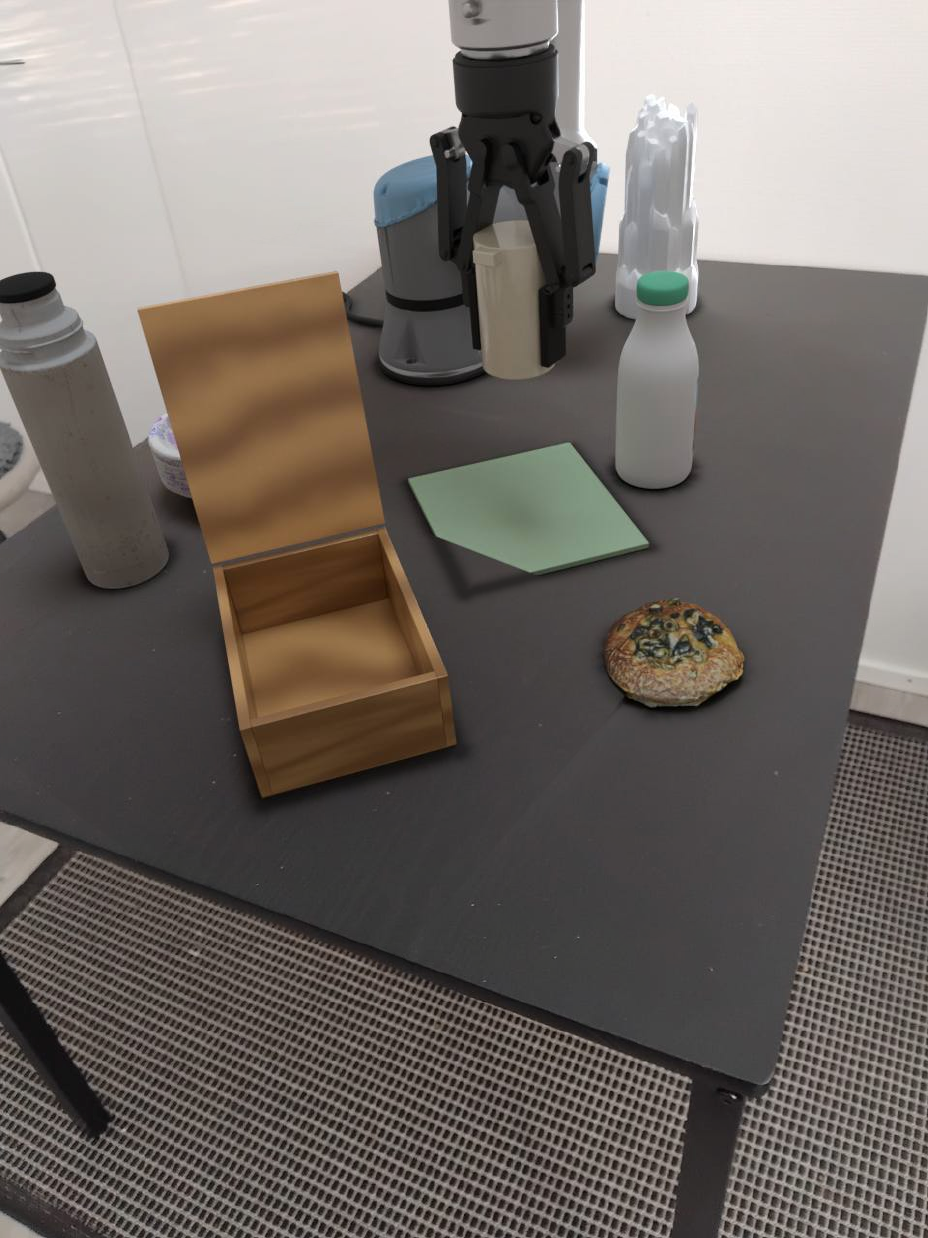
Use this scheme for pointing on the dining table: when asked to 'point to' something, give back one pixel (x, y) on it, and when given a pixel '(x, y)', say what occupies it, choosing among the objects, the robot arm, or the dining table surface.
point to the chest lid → (266, 413)
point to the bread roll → (671, 654)
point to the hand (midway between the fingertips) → (518, 351)
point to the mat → (528, 510)
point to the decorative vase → (658, 202)
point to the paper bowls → (168, 457)
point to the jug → (509, 300)
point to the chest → (330, 661)
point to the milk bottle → (657, 387)
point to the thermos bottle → (78, 433)
